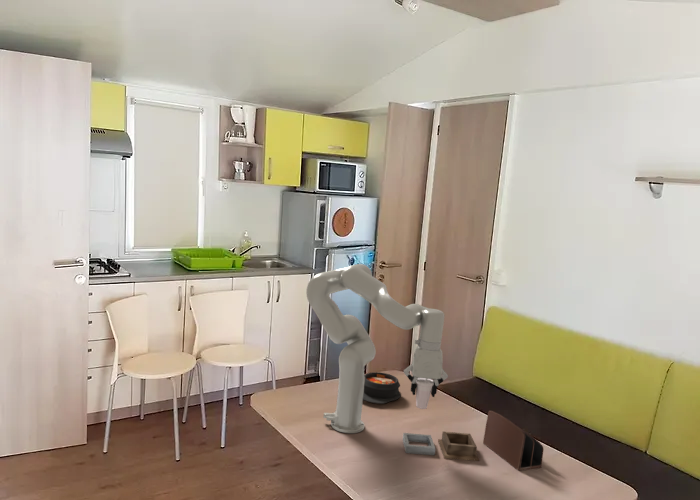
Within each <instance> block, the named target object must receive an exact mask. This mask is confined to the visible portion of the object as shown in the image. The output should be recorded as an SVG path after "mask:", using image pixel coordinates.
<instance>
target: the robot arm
mask: <svg viewBox="0 0 700 500" xmlns="http://www.w3.org/2000/svg"><path fill="white" fill-rule="evenodd" d="M346 290H350V291H351V292H353V293H354V294H356V295H358V296H360V297H361V298H362V299H364V300H366V301H367V302H369V304H371V305H372V306H373V308H374V309H375V310H376V312H378V314H379V315H380V316H381V317H382V318H384V319H385V320H386V321H388V322H389V323H391V324H392V325H394V326H396V327H398V328H400V329H402V330H404V331H405V330H411V329H413V328H415V327H417V326H418V327H419V326H420V331H419V338H418V339H414V344H415V345H417V346H416V347H415V350H414V353H413V357H412V361H411V364H410V365H409V366H407V367H406V368H404V369H403V374H404V375H405V376H406V377H407V378H408V380H409V381H410V382H411V383H410V384H411V385H410V392H411V393H412V396H416V381H417V379H418V378H426V379H431V380H433V381H434V385H433V386H432V390H431V393H430V396H431V397H433V398H435V395H437V392H438V391H437V390H438V387H439V385H440V384H442V383H443V382H444V381H445V380H446V379H448V378H449V375H448V373H447V371H445V370H444V369H443V359H444V358H443V355H444V354H443V350H442V349H441V347H442V339H443V332H444V326H445V325H444V323H445V312H443V310H440V309H437V308H430V307H426V306H423V305H421V304H417V303H411V304H409V305H406V306H405V305H403V304H402V303H399V302H398V301H397V300H395V299H394V298H393V297H392V296H391V295H390V294H389V292H388V287H387V285H386V284H385V283H384V282H382V281H381V280H379V279H377V278H376V277H374V276H373V272H372V270H371V269H370V268H369V267H368V266H367V265H365V264H362V263H359V264H358V263H357V264H353V265H348V266H347V267H343V268H337V269H332V270H329V271H322V272H319V273H317V274H315V275H313V276H312V277H311V278H310V280H309V281H308V283H307V286H306V298H307V302H308V304H309V305H310V307H311V308H312V310H313V312H314V313H315V315H316V316H317V318H318V320H319V322H320V324H321V325H322V327H323V329H324V331H325V332H326V334H327V335H328V338H329V339H330V341H331V342H332V343H334V344H336V345H342V344H345V343H347V345H346V346H344V347H343V349H342V350H341V351H340V353H339V356H338V365H339V366H338V368H339V369H338V371H339V374H338V375H339V377H338V389H337V399H336V400H337V401H336V408H335V411H334V412H332V413H331V412H323V419H326V421H330V426H331V428H332V429H334V430H335V431H337V432H340V433H343V434H344V433H345V434H357V433H360V432H362V431H364V429H365V422H364V421H363V420H362V414H363V413H362V412H363V403H364V400H363V393H364V383H365V376H364V375H365V366H366V365H368V364H369V363H370V362H371V363H372V361H373V360H374V359H375V357H376V353H377V351H376V345H375V343H374V342H373V340H372V338H371V336H370V335H369V333H368V331H367V330H366V329H365V327H364V325H363V324H362V322H361V321H360V320H359V318H357V316H355V315H352V314H345V315H344V314H343V313H342V311H341V309H340V308H339V306H338V305H337V304H338V303H336V302H335V301H334V300H333V299H332V298H331V297H330V295H331V294H335V293H337V292H342V291H346ZM410 372H411V373H410Z"/></svg>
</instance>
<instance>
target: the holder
mask: <svg viewBox="0 0 700 500" xmlns="http://www.w3.org/2000/svg"><path fill="white" fill-rule="evenodd" d="M410 442H413V443H425V444H427V445H418V444H416V445H415V444H410ZM402 443H403V447H404V452H405V453H406V454H415V455H416V454H417V455H426V456H435V455H436V446H435V442H434V440H433V437H432V435H431V434H423V433H422V434H421V433H409V432H403V434H402Z"/></svg>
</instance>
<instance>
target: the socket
mask: <svg viewBox="0 0 700 500" xmlns="http://www.w3.org/2000/svg"><path fill="white" fill-rule="evenodd" d="M437 439H438V438H437ZM437 443H438V446H439V448H440V451H441V453H442V456H443V458H444V459H451V460H461V461H470V462H471V461H473V462H479V461H480V457H479V455H478V453H477V449H478V446H477V444H476V443H475V440H474V439H473V437H472V435H471V433H465V432H453V431H442V434H441V438H439V439H438V440H437Z"/></svg>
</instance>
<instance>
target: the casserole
mask: <svg viewBox="0 0 700 500" xmlns="http://www.w3.org/2000/svg"><path fill="white" fill-rule="evenodd" d="M364 376H365V383H364V393H363V401H364V402H367V403H372V404H377V405H378V404H379V405H384V404H387V403H389V402H393V401H396V400H398V399H400V398H401V396H402V395H401V394H402V393H401V392H400V389H399V388H401V383H400V382H399V378H398V377H396V376H395V375H392V374H389V373H385V372H377V371H375V372H368V373H364Z"/></svg>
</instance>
